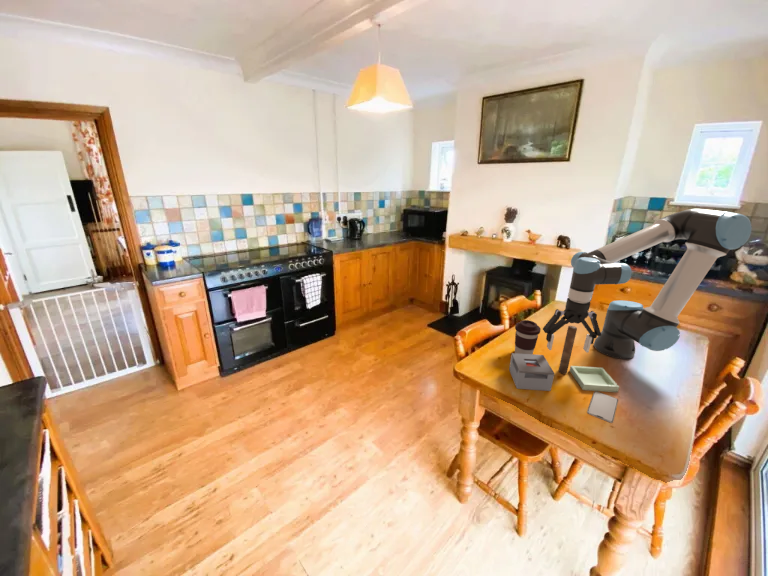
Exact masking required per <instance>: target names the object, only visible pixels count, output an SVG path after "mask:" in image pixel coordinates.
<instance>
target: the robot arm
mask: <svg viewBox="0 0 768 576" xmlns="http://www.w3.org/2000/svg"><path fill="white" fill-rule="evenodd" d="M751 234H752V222H751V220H750V218H749V217H747V215H744V214H742V213H736V212H732V211H725V210H724V211H722V210H715V209H714V210H713V209H705V208H690V209H689V208H688V209H685V210H681V211H678V212H674V213H671V214H668V215H665V216H663V217H662V218H659V219H656V220H654V222H653V223H652V224H651V225H649V226H647V227H644V228H643V229H641V230H638V231H635V232H633V233H631V234H629V235H627V236H625V237H622V238H620V239H617V240H615V241H613V242H611V243H608V244H606V245H604V246H602V247H598V248H597V249H594V250H592V251H590V252H586V251H578V252H576V253H575V254H574V255H572V257H571V260H570V263H571V264H570V265H571V267H572V268H573V269H572V275H571V280H570V285H569V289H568V295H567V299H566V303H565V308H564V310H560V309H558V308H556V309H555V311H554V313H553V315H552V317H551V318H549V320H548V321H547V322H546V324H545V325H544V326H543V327H542V330H543V332H544V333H545V334H546V338H545V339H546V341H547V344H546V347H547V349H548V351H552V349H553V344H554V339H555V333H556V332H557V331H558V330H560V329H561V328H562V327H564V326H565V325H568V324H579V325H580V323H581V324H582V325H583V327H584V328H585V329H586V331H587V332H588V333H587V334H586V337H585V340H584V344H583V347H582V348H583V351H585V352H586V353H587V354H588V353H589V352H590V348H591V345H593V347H594V348H595V350H597V351H598V352H600V354H601V353H602V354H603V355H606V356H608V357H612V358H615V359H620V360H621V359H622V360H625V359H626V360H627V359H628V360H629V359H631V358H632V359H633V357H635V354H636V346H635V345H636V344H635V342H637V344H640V346H641V347H644V348H646V349H648V350H650V351H653V352H661V351H664V350H668V349H670V348H671V347H673V346H674V345H676V343H677V342H678V341H679V339H680V337H681V335H680V334H681V332H680V329H678V326H679V325H680V323H681V322H680V320H679V318H678V317H679V315H680V314H681V312H682V311H683V310H684V308H685V306H686V305H687V304H688V302H690V299H691V298H692V296H693V295H694V293H695V292H696V290H697V288H698V287H699V286H700V284H701V283H702V281H703V280H704V279H705V277H706V275H707V274H708V272H709V271H710V270H711V268H712V266H713V265H714V264H715V262H716V261H717V259H718V258H720V257H724V256H727V254H728V253H729V251H730V250H731V251H732V250H737V249H740V248H741V247H742V246H744V245H745V244H746V243H747V242H748V240H749V239H750V237H751ZM675 240H686V241H685V246H686V251H685V252H684V254H683V256H682V257H681V259H680V260H679V262H678V263H677V264H676V265H675V268H674V269H673V271H672V273H671V274H670V275H669V277H668V279H667V280H666V282H665V283H664V285H663V286H662V288H661V290H660V291H659V293H658V295H656V298H655V299H654V300H653V302H652V303H651V305H650V306H647V307H644V305H643V304H642V303H639V302H635V301H632V300H631V301H630V300H624V299H623V300H622V299H621V300H612V301H611V302H610V303H609V305H608V308H606V313H605V318H604V322H603V326H602V330H601V329H600V327H599V324H598V320H597V316H598V314H597V313H596V312H595V311H594V310H589V309H590V306H591V301H592V299H593V295H594V291H595V287H596V285H598V286H599V285H621V284H626V283H628V282H629V281H630V280H631V277H632V275H633V272H632V268H631V267H630V265H629V264H627V263H624V262H619V261H621V260H623V259H624V260H625V259H626V258H628V257H630V256H633V255H635V254H637V253H640V252H642V251H644V250H647V249H650V248H652V247H654V246H656V245H658V244H661V243H670V242H672V241H675ZM589 311H590V312H589ZM588 317H589V319H590V322H591V326H592V328H593V330H594V331H593V330H592V328H591V327H590V325H589V324H588V322H587V321H586V319H587V318H588Z"/></svg>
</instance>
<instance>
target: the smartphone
mask: <svg viewBox="0 0 768 576" xmlns="http://www.w3.org/2000/svg"><path fill="white" fill-rule="evenodd" d="M618 403H619V399H618V398H616V397H614V396H612V395H608V394H606V393H604V392H602V391H593V395H592V396H591V399H590V403H589V405H588V407H587V410H586V411H587V412H586V413H587V414H588V415H589V416H593V417H595V418H597V419H600V420H603V421H605V422H607V423H610V424H612V423H614V420H615V417H616V416H615V415H616V411H617V407H618Z"/></svg>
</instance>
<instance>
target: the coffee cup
mask: <svg viewBox="0 0 768 576" xmlns="http://www.w3.org/2000/svg"><path fill="white" fill-rule="evenodd" d="M514 329H515V330H516V331H515V333H514V334H515V337H514V338H515V339H514V353H517V354H533V353H534V351H535V348H536V345H537V341H538V339H539V338H538V337H539V334H541V327H540V326H539V324H537V323H536V322H534V321H532V320H528V319H522V320H520V321H519V322H517V323H515V326H514Z"/></svg>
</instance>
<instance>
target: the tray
mask: <svg viewBox="0 0 768 576" xmlns="http://www.w3.org/2000/svg"><path fill="white" fill-rule="evenodd" d="M569 372H570V374H571V375H572V376H573V378H574V380H575V381H576V382H577V384H578V385H579V386H580V388H581V390H582V391H591V392H592V391H593V392H594V391H598V392H606V393H607V392H609V393H619V389H620V385H618V383H617V382H616V381H615V380H614V379H613V378H612V376H611V375H610V374H609V373H608V372H607V370H605V369H604V367H598V366H597V367H596V366H583V365H582V366H580V365H579V366H578V365H570V367H569Z"/></svg>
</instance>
